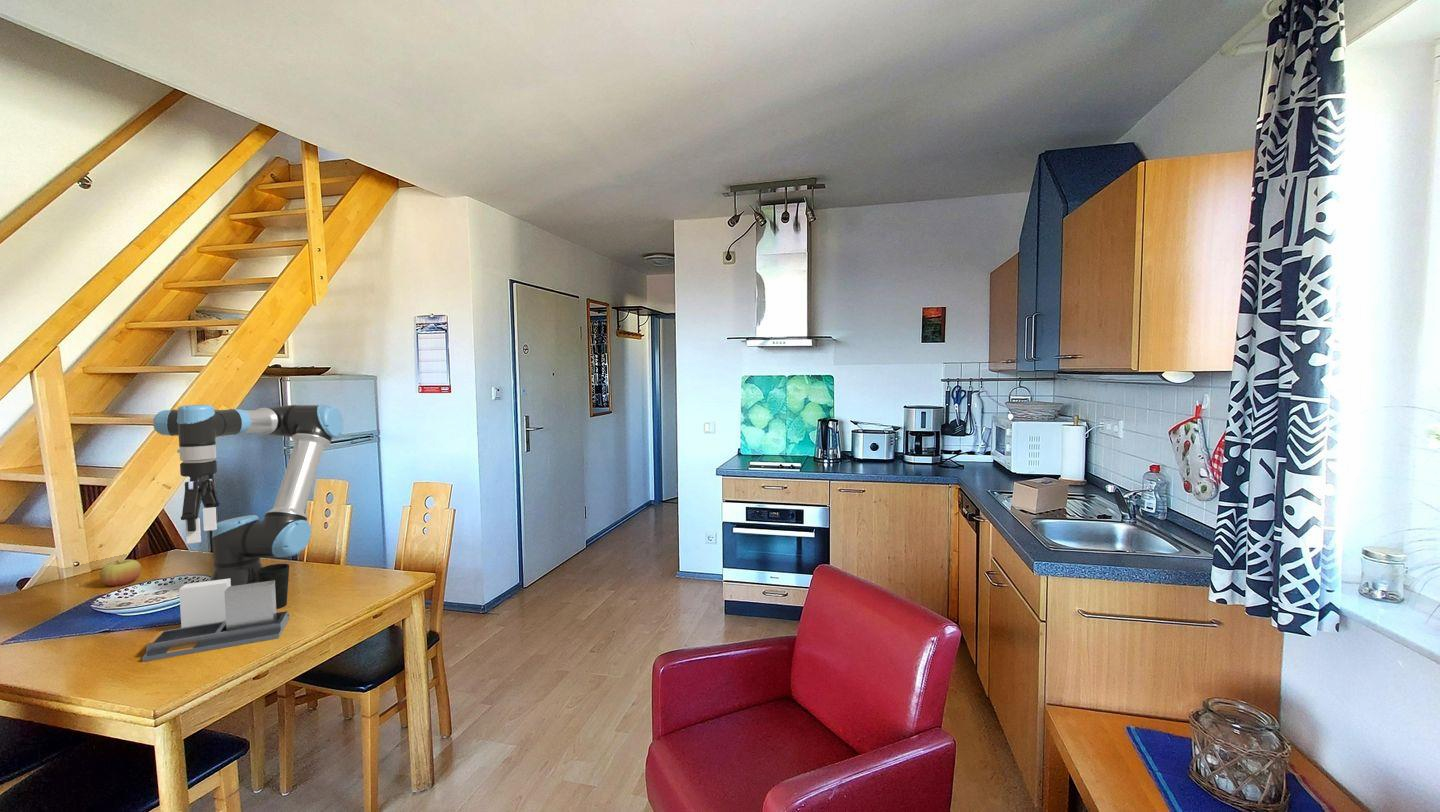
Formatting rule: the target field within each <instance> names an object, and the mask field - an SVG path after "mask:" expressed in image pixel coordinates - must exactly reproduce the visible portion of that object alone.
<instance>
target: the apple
mask: <svg viewBox="0 0 1440 812" xmlns="http://www.w3.org/2000/svg"><path fill="white" fill-rule="evenodd" d="M141 573H142V565H141V563H140V562H139V561H137V560H135V559H122V560H116V561H113V562H110V563H108V564H105V565H104V566H103V567H102V568H101V569H100V571H99V580H100V581H101V582H102V583H103V584H105V585H106V586H108V587H117V586H118V587H119V586H123V585H124V586H125V585H128V584H130V583H133V582H134V581H135V580H137V579H138V578H139V577H140V575H142V574H141Z"/></svg>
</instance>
